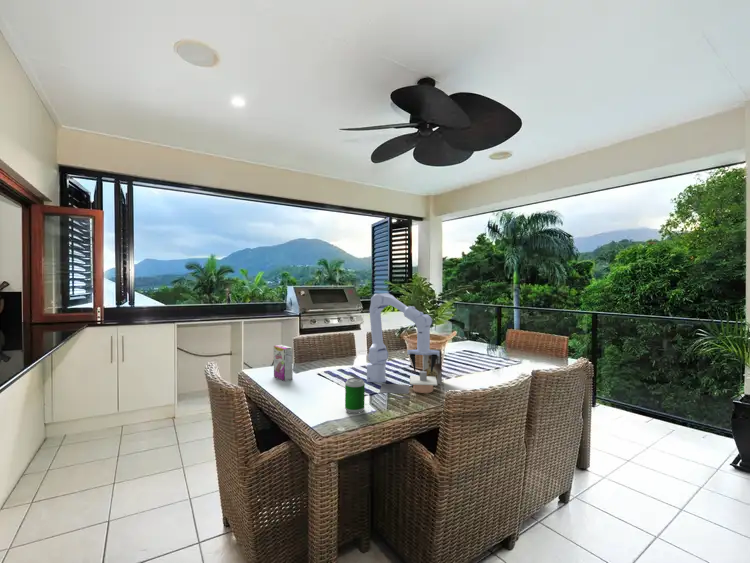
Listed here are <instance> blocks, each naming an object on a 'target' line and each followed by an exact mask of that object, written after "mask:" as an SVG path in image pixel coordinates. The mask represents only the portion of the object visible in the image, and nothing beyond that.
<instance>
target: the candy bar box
mask: <svg viewBox="0 0 750 563" xmlns="http://www.w3.org/2000/svg"><path fill="white" fill-rule="evenodd" d="M293 367H294V366H293V347H291V346H289V345H284V344H277V345H276V344H275V345H273V378H274V377H275V378H276V379H279V380H280V381H283V382H288V381H292V380H293Z"/></svg>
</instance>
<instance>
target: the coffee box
mask: <svg viewBox="0 0 750 563" xmlns="http://www.w3.org/2000/svg"><path fill="white" fill-rule="evenodd" d="M430 350H435V351H439V352H440V353H439V356H437V359H436V361H435V363H434V366H433V372H431V355H422V371H426V372H427V376H434V377H436V381H437V385H439V386H440V385H441V386H442V385H443V377H442V376H443V375H442V373H443V371H442V367H443V364H442V361H443V360H442V357H443V356H442V355H443V354H442V349H434V348H433V349H432V348H430Z"/></svg>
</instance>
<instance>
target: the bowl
mask: <svg viewBox="0 0 750 563" xmlns="http://www.w3.org/2000/svg"><path fill="white" fill-rule="evenodd" d="M412 385H413V384H412ZM412 388H413V389H412V390H413V392H416V393H420V394H428V393H432V392H434V385H413V387H412Z"/></svg>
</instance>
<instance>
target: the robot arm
mask: <svg viewBox="0 0 750 563" xmlns="http://www.w3.org/2000/svg"><path fill="white" fill-rule="evenodd" d="M389 306H391V307H392V308H393V307H394V308H395V309H397V310H398V311H400V312H402V313H403V315H404V317H405V318H407V319H408V320H410V321H411V322H412V323H414V325H415V326H416V332H417V333H416V334H417V335H416V336H417V337H416V339H417V340H416V349H407V351H406V352H407V356H409V358H410V360H411V364H412V366H413V367H412V368H413V371H414V372H416V369H417V368H416V356H423V355H431V372H433V366H434V363H435V361H436V359H437V356H439V353H440V352H439V351H435V350H430V349H431V348H430V347H431V346H430V344H431V343H430V340H431V339H430V338H431V336H430V335H431V325H432V324H433V319H432V317H431V316H430V315H429V314H427V313H425V314H424V312H423V311H420V310H418V309H417V308H416V306H414V305H412V306H411V305H409V306H407V305H406V304H405V303H403V302H402V301H400V300H399V299H397V298H396V297H395V296H394V295H393V294H391V293H388V292H385V293H384V292H383V293H374V294H373V295H372V296H371V298H370V306H369V320H370V321H369V322H370V332H371V334H370V335H371V342H372V344H371V346H370V347H369V349H368V361H369V362H367V364H366V383H386V382H387V377H386V363H387V360H388V359H389V355H390V354H389V351H388V350H387V346H386V344H385V343H384V338H383V328H382V327H383V325H382V311H383V310H384V309H385V308H386V307H389Z"/></svg>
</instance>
